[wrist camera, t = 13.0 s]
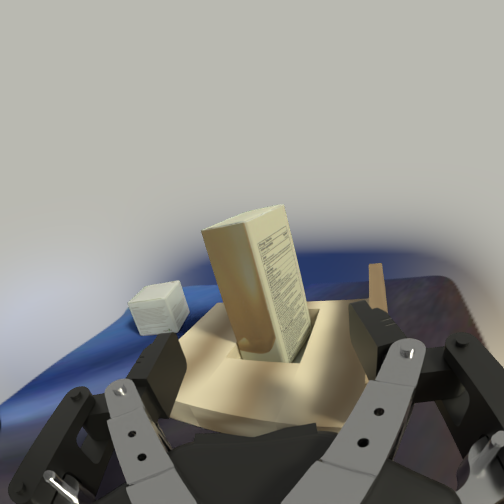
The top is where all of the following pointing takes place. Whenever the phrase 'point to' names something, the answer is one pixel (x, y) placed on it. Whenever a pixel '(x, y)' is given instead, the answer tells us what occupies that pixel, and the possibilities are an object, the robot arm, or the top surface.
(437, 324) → the top surface
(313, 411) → the rack
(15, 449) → the top surface
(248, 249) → the skincare box
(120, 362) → the top surface
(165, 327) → the small box
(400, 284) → the top surface
